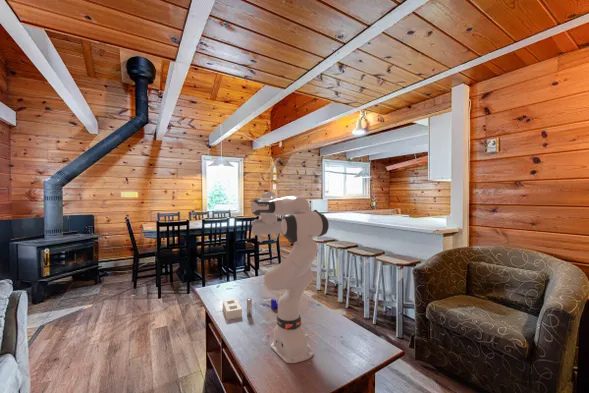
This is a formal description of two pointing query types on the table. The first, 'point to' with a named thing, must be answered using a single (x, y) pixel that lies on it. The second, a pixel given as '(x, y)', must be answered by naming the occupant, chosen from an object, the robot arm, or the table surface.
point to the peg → (249, 307)
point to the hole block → (232, 309)
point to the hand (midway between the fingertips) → (268, 241)
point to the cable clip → (274, 304)
